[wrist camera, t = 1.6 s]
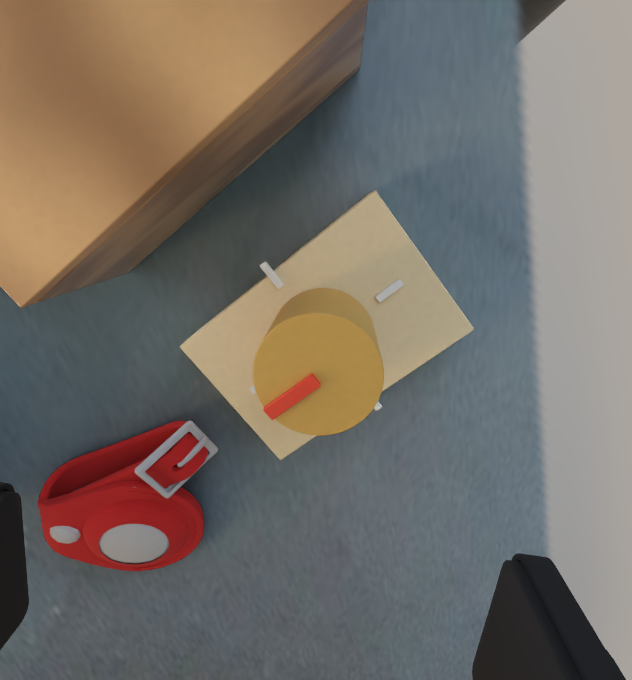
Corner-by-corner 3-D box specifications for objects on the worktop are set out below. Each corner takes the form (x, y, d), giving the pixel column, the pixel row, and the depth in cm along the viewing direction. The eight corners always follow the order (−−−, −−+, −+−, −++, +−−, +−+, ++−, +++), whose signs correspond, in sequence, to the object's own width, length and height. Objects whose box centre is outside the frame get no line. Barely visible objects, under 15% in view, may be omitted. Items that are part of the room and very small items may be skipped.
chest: (177, -201, 19) (68, -469, 11) (360, 68, 21) (370, -4, 14) (-51, 68, 22) (-251, 1, 15) (128, 272, 25) (36, 303, 17)
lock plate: (364, 181, 23) (367, 178, 20) (465, 323, 24) (482, 340, 21) (190, 322, 25) (169, 338, 22) (293, 440, 27) (287, 470, 24)
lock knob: (332, 266, 21) (329, 287, 16) (395, 348, 22) (412, 392, 17) (251, 329, 22) (223, 367, 17) (314, 404, 23) (306, 462, 18)
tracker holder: (206, 585, 29) (34, 592, 27) (209, 525, 33) (59, 527, 31) (219, 450, 23) (-3, 445, 21) (221, 394, 27) (33, 386, 24)
